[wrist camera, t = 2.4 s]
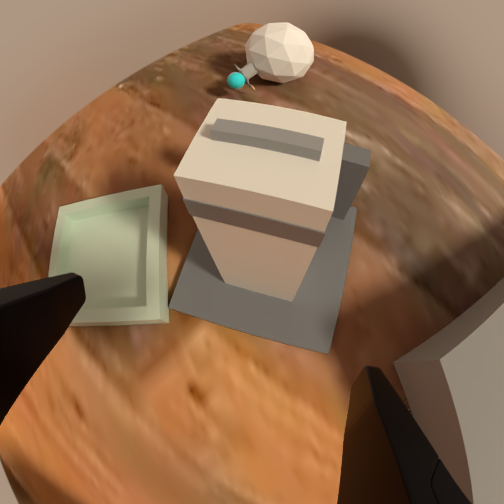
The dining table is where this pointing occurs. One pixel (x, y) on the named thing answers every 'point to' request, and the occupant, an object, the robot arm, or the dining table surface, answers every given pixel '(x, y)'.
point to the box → (463, 396)
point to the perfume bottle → (275, 55)
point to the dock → (308, 294)
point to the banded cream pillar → (262, 191)
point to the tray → (116, 256)
